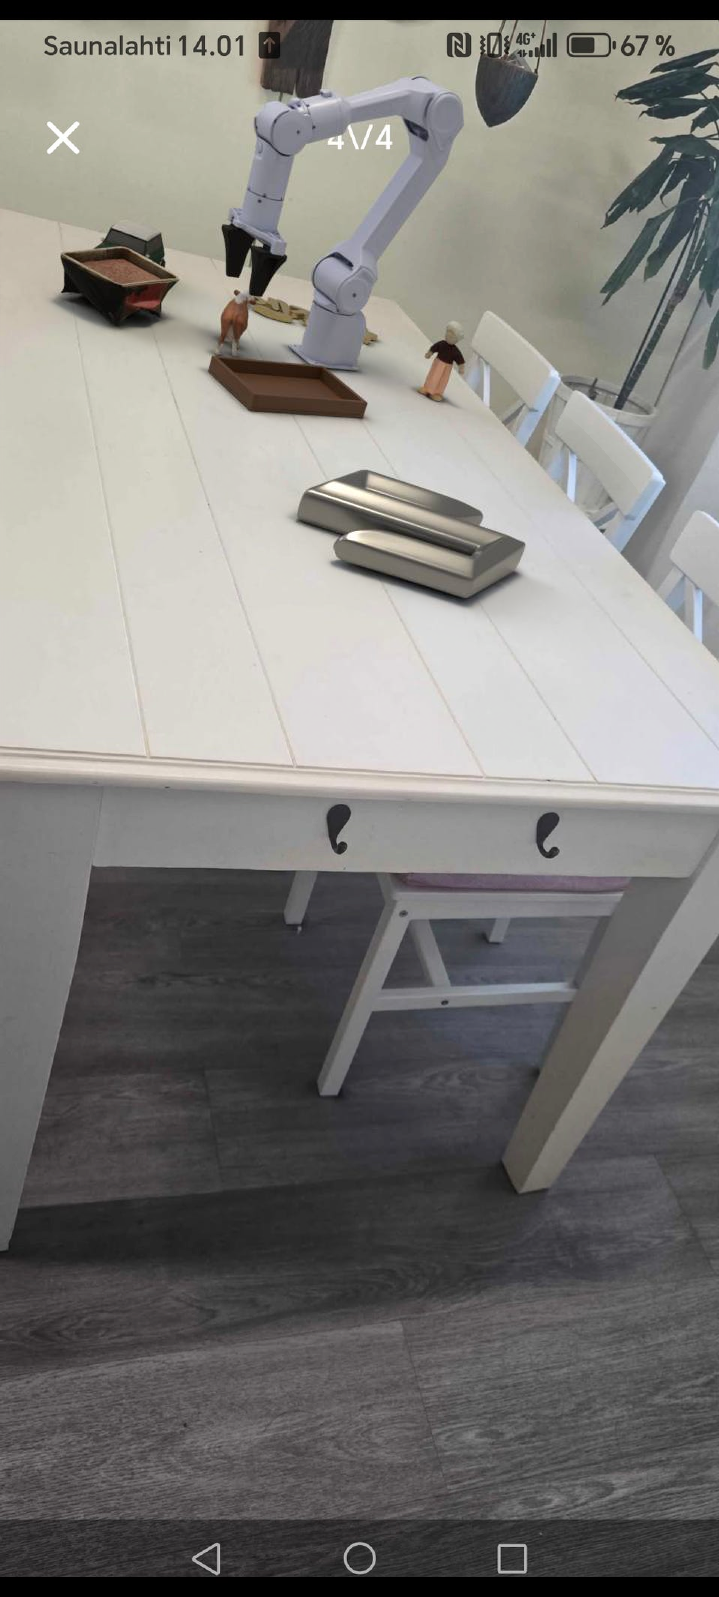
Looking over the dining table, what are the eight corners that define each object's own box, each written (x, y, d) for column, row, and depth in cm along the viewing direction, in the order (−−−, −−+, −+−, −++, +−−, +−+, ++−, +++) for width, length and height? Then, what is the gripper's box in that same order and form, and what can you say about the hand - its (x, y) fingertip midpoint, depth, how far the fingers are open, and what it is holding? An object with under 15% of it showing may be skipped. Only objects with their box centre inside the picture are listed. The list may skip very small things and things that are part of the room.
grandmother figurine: (408, 389, 206) (433, 314, 198) (416, 385, 209) (440, 311, 201) (449, 407, 204) (475, 333, 197) (456, 403, 207) (482, 329, 200)
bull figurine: (249, 341, 200) (261, 291, 196) (234, 363, 189) (246, 311, 185) (224, 332, 200) (235, 282, 195) (207, 354, 189) (219, 302, 184)
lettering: (244, 311, 212) (246, 306, 211) (240, 293, 220) (241, 288, 219) (380, 347, 219) (381, 342, 219) (371, 328, 227) (372, 323, 227)
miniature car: (81, 276, 201) (89, 225, 196) (118, 256, 216) (126, 209, 211) (133, 295, 201) (142, 245, 197) (166, 274, 216) (175, 227, 211)
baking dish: (176, 336, 198) (191, 272, 193) (105, 327, 183) (120, 258, 178) (108, 307, 202) (122, 244, 198) (34, 296, 187) (46, 228, 183)
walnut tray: (319, 380, 195) (323, 365, 194) (363, 417, 188) (367, 402, 186) (207, 371, 183) (211, 354, 182) (250, 410, 176) (254, 393, 174)
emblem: (457, 464, 168) (567, 568, 150) (444, 499, 171) (550, 606, 153) (277, 446, 153) (375, 559, 136) (266, 485, 156) (361, 601, 139)
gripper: (219, 172, 183) (200, 264, 191) (266, 206, 175) (243, 301, 182) (259, 180, 187) (238, 270, 195) (306, 213, 179) (283, 305, 187)
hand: (243, 285), depth 189 cm, fingers open, 7 cm apart
